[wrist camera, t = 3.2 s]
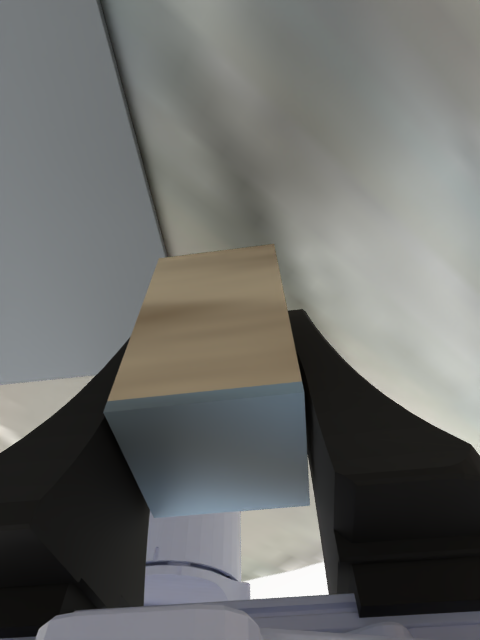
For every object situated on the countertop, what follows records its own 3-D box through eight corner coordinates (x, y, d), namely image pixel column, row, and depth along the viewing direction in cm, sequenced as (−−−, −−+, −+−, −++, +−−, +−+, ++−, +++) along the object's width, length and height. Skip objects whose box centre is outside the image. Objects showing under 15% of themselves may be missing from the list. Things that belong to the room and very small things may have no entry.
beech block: (281, 336, 16) (309, 505, 10) (183, 347, 16) (154, 518, 10) (274, 243, 13) (304, 392, 8) (158, 258, 14) (103, 412, 8)
